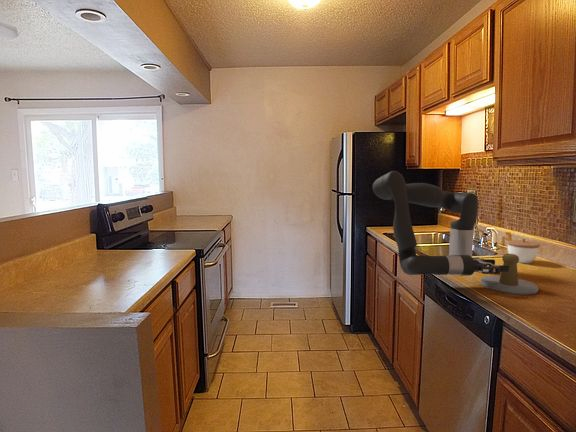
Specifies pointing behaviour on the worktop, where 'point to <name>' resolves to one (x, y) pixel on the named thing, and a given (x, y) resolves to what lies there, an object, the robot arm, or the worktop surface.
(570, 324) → the worktop surface
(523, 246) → the lidded bowl
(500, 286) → the slate plate
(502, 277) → the cork
